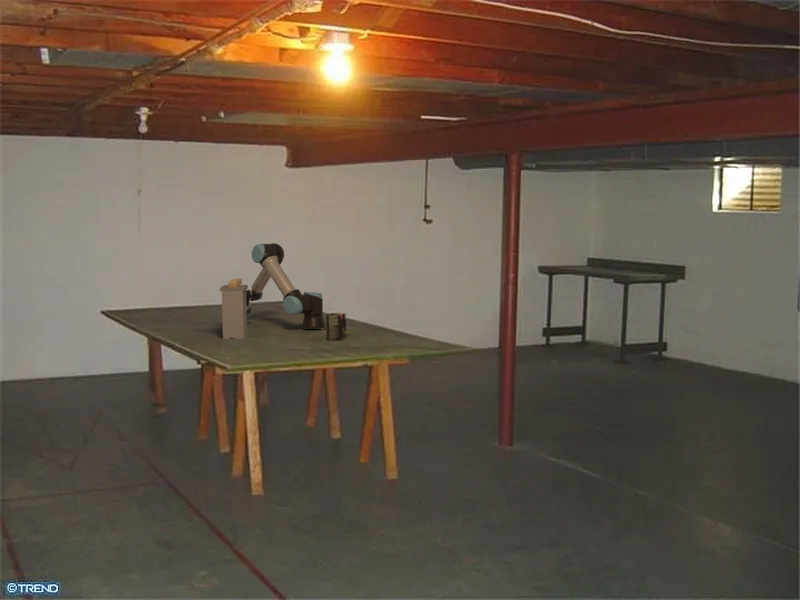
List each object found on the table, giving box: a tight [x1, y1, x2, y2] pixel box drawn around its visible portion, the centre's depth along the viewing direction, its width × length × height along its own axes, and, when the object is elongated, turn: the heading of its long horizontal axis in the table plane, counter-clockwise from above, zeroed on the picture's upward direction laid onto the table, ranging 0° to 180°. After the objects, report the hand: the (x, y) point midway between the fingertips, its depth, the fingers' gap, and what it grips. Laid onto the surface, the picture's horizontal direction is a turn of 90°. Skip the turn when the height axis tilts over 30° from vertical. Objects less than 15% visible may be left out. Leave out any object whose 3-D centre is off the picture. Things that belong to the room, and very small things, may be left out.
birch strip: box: [227, 278, 243, 288], centre depth 533 cm, size 28×4×3 cm, turn 3°
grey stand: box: [219, 284, 249, 340], centre depth 529 cm, size 18×14×30 cm
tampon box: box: [325, 312, 347, 341], centre depth 518 cm, size 11×9×15 cm
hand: (239, 288), depth 554 cm, fingers open, 13 cm apart
